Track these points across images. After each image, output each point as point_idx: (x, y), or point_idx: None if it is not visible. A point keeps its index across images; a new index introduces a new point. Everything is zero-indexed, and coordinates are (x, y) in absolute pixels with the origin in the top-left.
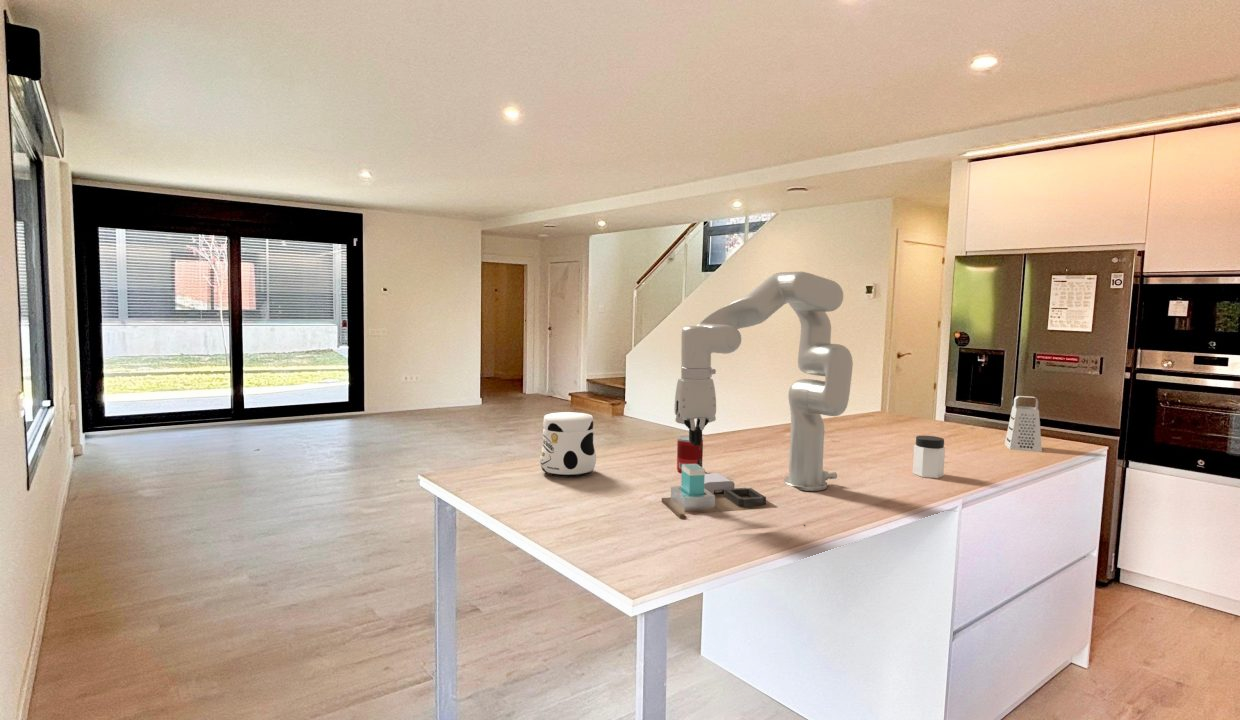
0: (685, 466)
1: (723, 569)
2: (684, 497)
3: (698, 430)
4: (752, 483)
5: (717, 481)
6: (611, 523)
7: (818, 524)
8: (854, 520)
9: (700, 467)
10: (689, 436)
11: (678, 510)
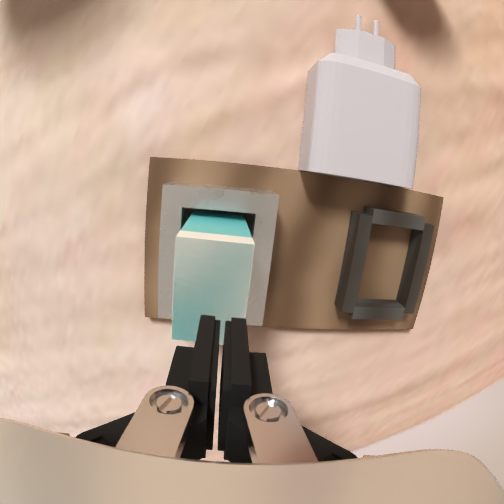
0: (176, 281)
1: None
2: (158, 314)
3: (224, 450)
4: (482, 105)
5: (363, 175)
6: (2, 288)
7: (408, 400)
8: (465, 386)
9: (237, 316)
10: (172, 367)
11: (152, 287)
